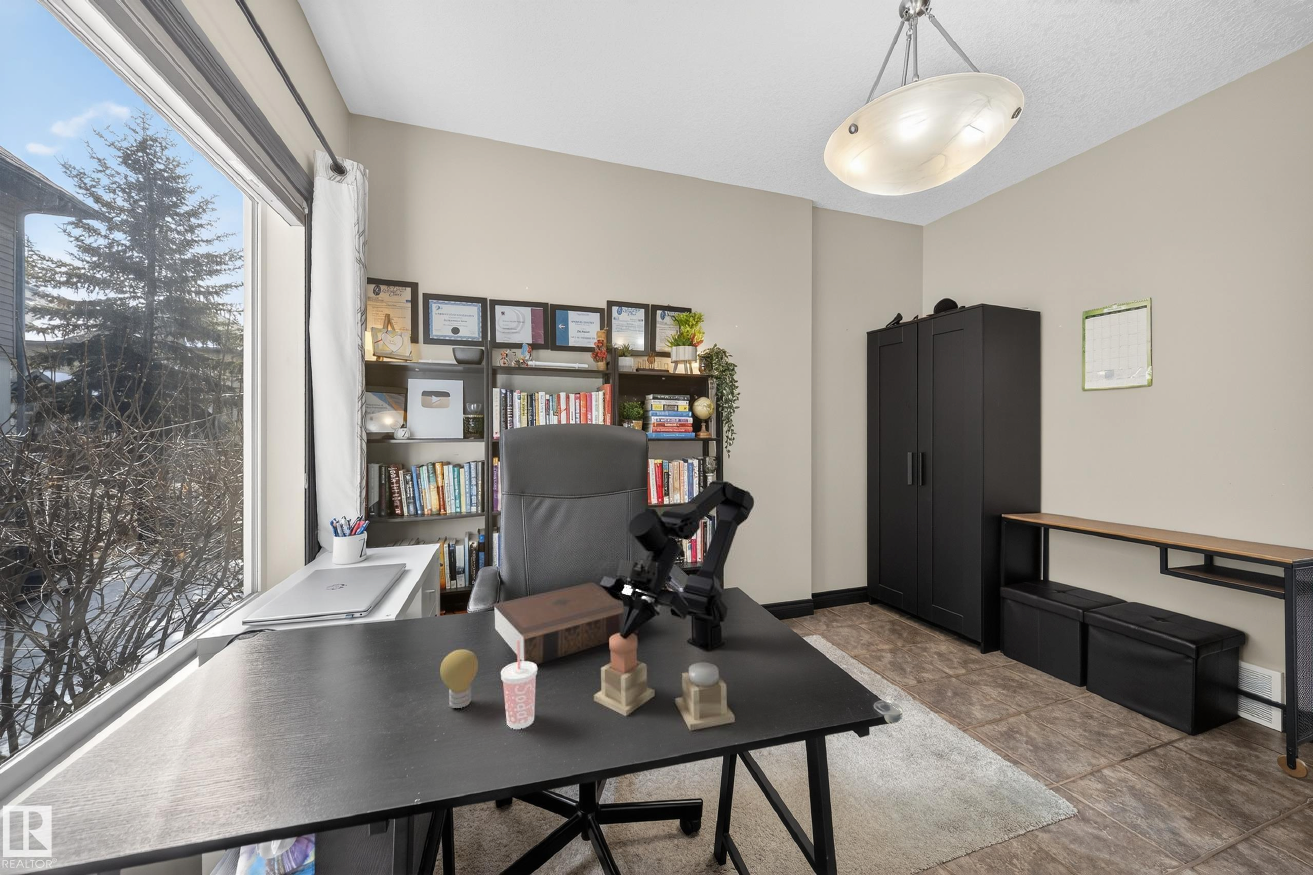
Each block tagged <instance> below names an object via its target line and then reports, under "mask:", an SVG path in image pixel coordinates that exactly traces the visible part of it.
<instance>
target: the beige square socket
mask: <svg viewBox="0 0 1313 875" xmlns="http://www.w3.org/2000/svg"><path fill="white" fill-rule="evenodd" d="M681 689H682V690H681V691H682V692H681V693H682V696H681V697H676V698H675V706H676V707H677V709H678V710H679V712H680V715H681V716H682V718H683V720H684V721H685V723H686V724H685V725H686V726H687V727H688V729H689V731H696V730H701V729H705V728H711V727H716V726H721V725H726V724H730V723H735V722H736V721H735V718H736V717H735V715H734V713H733V712H732V711H731V709H730V708H729V706H728V705H727V700H728V699H727V684H726V683H725V681H724V680H723V679H722V678H721V676H720V675H719V680H718V682H717V683H716V684H715V685H713V686H709V687H700V686H699V687H697V686H696V685H694V684H692V683H691V682H690V681H689V671H688V672H687V671H686V672H682V673H681Z"/></svg>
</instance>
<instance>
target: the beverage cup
mask: <svg viewBox="0 0 1313 875" xmlns="http://www.w3.org/2000/svg"><path fill="white" fill-rule="evenodd" d="M516 658H517V661H516V662H515V661H514V662H512V663H509V664H507V665H505V667H502V669H501V670H500V678H501V681H502V683H503V684H502V685H503V698H504V707H505V716H506V718H505V719H506V726H507V725H508V726H509V727H510V728H509V727H508V726H507V727H508V728H509V729H512V728H513V729H512V730H521V728H522V729H526V728H527V727H530V725H532V724H533V723H534V720H535V708H536V706H535V705H536V679H537V678H536V676H537V674H538V666H537V665H538V664H534V663H533V662H529V661H522V660H521V659H520V641H517V654H516Z"/></svg>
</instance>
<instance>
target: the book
mask: <svg viewBox="0 0 1313 875" xmlns="http://www.w3.org/2000/svg"><path fill="white" fill-rule="evenodd" d="M492 606H493V607H494V628H495V630H496V632H498V634H499V635H500V636H501V637H502V639H503V640H504V641H505V643H506V644H507V645H508V646H509V647H510V648H511V649H512V651H513V652H514V653H515V654H516V655H517V641H520V661H529V662H533V663H534V664H536V665H538V664H539V665H540V664H542V663H546V662H548V661H551V660H555V659H558V658H561V657H565V656H568V655H571V654H574V653H577V652H581V651H583V650H587V649H591V648H593V647H596V646H597V647H598V646H601V645H604V644H607V643H609V638H610V637H611V636H612V635H614V634H617V633H620V631H621V624H622V617H623V601H619V600H616V599H614V598H612V597H611V596H610V595H609V594H608V593H607V592H606V591H605V590H604V589H603V588H602V587H601V586H600V585H598V584H596V583H595V582H593V581H591V582H587V583H583V584H578V585H573V586H569V587H564V588H560V589H555V590H550V591H546V592H542V593H538V594H537V593H536V594H533V595H532V594H531V595H528V596H524V597H519V598H514V599H511V600H507V601H505V600H504V601H501V602H496V603H493V604H492ZM638 633H639V628H638V629H637V630H636V631H635V632H633V633H632V634H635V635H636V634H638Z"/></svg>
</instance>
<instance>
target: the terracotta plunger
mask: <svg viewBox="0 0 1313 875" xmlns="http://www.w3.org/2000/svg"><path fill="white" fill-rule="evenodd" d="M608 643H609V645H608V646H609V648H608V649H609V650H610V663H611V669H614V670H616V671H618V672H621V673H623V674H626V673H627V672H629V671H630V670H632V669H634V668H635V667H637V661H638V659H637V649H638V636H637V635H636V634H631V635H630V636H628V637H627V638H626V639H624V638H622V637H621V636H620V633H617V634H614V635H612V636H611V637H610V638H609V642H608Z"/></svg>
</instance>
